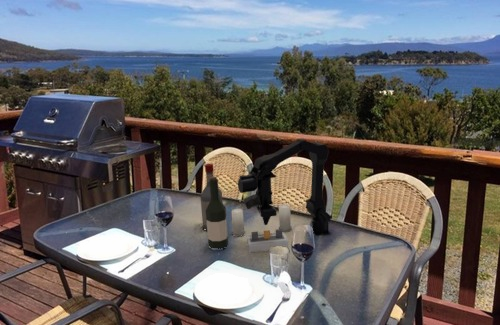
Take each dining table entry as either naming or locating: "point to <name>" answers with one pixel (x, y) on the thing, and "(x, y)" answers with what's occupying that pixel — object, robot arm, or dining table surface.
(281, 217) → the post
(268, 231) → the block
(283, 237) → the box
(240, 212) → the post
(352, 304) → the dining table surface
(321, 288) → the dining table surface
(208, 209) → the wine bottle
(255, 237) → the paddle
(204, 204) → the liquor
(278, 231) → the paddle
